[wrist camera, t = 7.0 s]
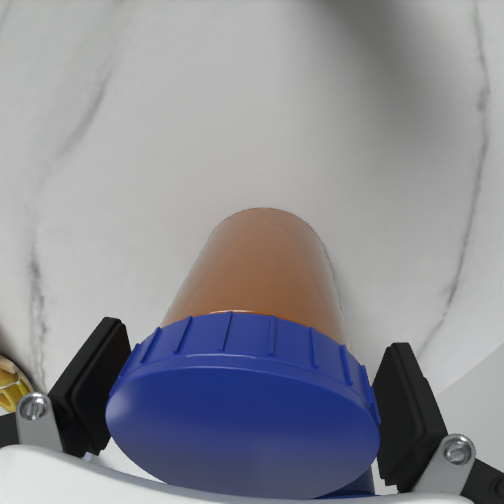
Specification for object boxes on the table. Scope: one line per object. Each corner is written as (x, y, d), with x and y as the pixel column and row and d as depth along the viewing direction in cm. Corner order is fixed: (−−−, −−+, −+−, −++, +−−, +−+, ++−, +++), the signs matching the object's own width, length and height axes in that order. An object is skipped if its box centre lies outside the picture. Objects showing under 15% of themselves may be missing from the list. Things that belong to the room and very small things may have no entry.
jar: (344, 294, 18) (385, 460, 8) (239, 334, 19) (207, 492, 10) (295, 185, 15) (314, 309, 6) (179, 240, 17) (79, 383, 7)
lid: (321, 260, 7) (331, 311, 5) (390, 435, 9) (399, 478, 7) (82, 351, 8) (54, 392, 7) (208, 473, 11) (201, 509, 9)
